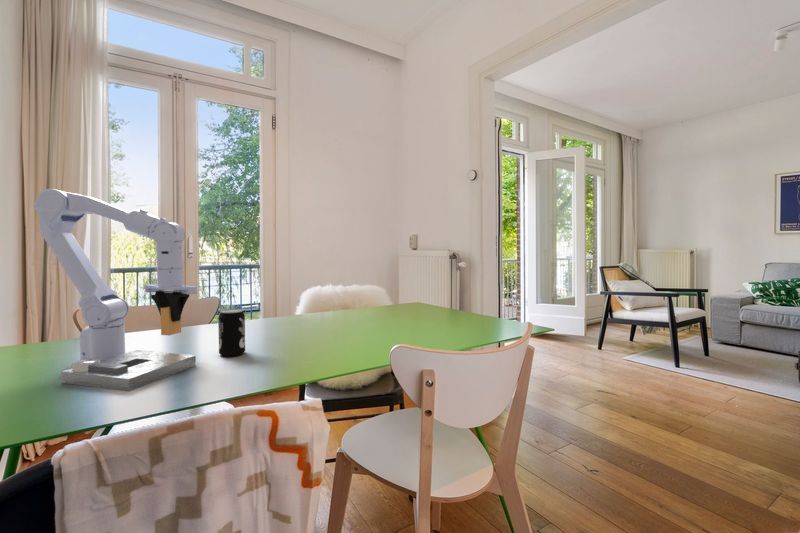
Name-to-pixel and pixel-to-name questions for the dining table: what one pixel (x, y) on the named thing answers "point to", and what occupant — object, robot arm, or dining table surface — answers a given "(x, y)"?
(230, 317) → the beverage can
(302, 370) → the dining table surface
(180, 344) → the dining table surface
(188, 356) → the gray slotted plate
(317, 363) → the dining table surface
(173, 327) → the orange rectangular block
